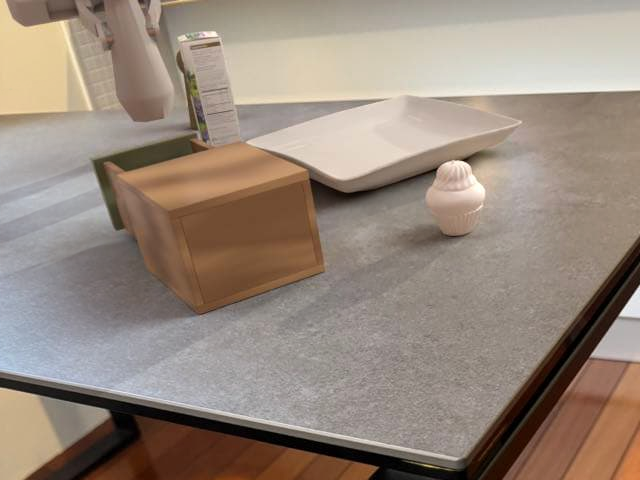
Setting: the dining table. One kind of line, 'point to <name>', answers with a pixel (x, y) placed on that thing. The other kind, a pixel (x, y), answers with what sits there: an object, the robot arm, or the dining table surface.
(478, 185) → the muffin
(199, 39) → the syrup box
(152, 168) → the cabinet
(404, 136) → the square plate
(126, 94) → the salt shaker
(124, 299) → the dining table surface
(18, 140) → the dining table surface
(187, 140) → the drawer
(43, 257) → the dining table surface
